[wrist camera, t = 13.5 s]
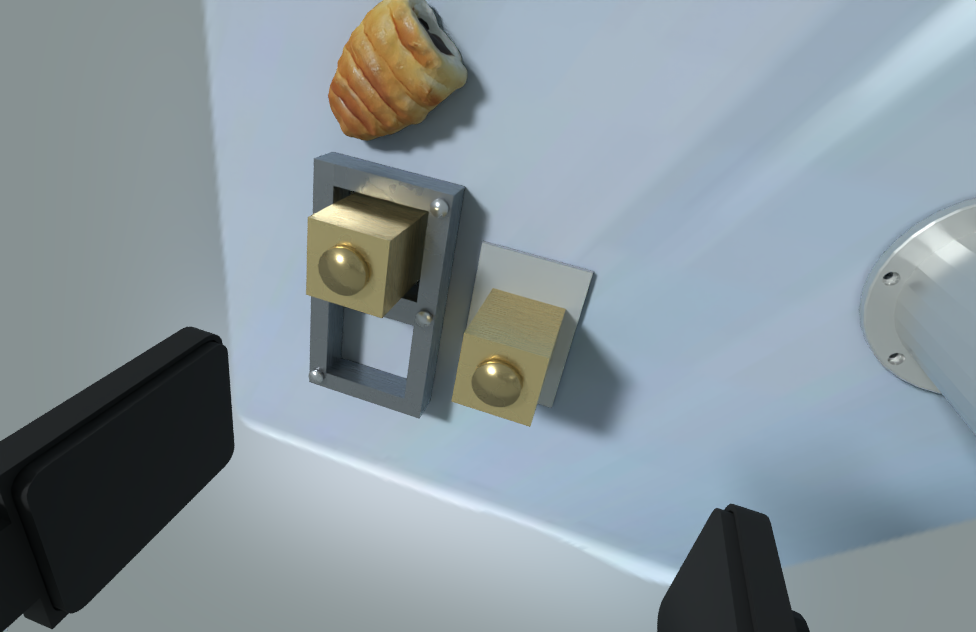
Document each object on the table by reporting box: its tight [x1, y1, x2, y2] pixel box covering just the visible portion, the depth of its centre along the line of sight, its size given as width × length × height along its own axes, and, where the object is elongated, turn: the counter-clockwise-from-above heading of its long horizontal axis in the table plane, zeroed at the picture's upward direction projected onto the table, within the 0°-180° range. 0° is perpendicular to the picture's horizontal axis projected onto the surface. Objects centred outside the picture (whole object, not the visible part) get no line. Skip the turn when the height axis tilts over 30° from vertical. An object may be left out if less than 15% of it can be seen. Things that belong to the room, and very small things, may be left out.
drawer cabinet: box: [309, 152, 465, 418], centre depth 41 cm, size 10×19×3 cm, turn 170°
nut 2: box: [452, 288, 566, 427], centre depth 37 cm, size 6×6×8 cm
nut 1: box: [306, 192, 429, 318], centre depth 37 cm, size 6×6×8 cm
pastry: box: [328, 0, 467, 141], centre depth 34 cm, size 9×7×4 cm
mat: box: [466, 241, 593, 408], centre depth 41 cm, size 8×12×1 cm, turn 170°
